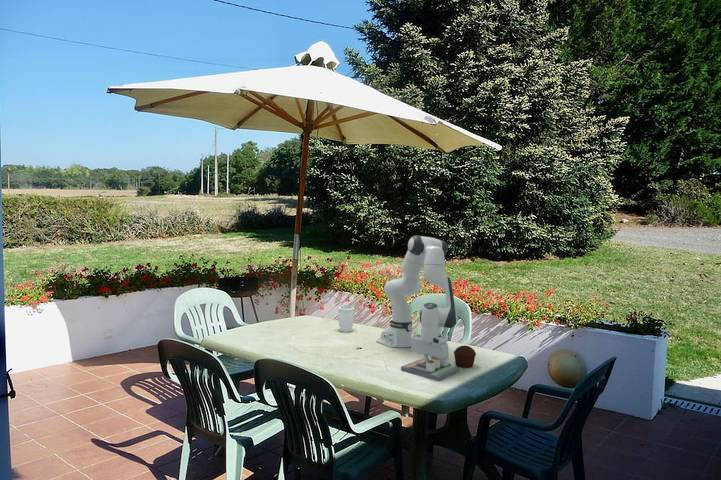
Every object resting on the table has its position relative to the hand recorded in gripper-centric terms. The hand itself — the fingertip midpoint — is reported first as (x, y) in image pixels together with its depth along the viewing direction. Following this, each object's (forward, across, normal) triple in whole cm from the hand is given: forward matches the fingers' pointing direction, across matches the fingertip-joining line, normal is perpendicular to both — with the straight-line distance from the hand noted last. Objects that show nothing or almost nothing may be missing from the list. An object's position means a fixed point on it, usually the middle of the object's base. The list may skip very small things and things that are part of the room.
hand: (429, 363), depth 260 cm
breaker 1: (+1, +5, -6) cm, 8 cm away
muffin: (+4, +8, +20) cm, 22 cm away
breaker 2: (+1, +5, +6) cm, 8 cm away
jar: (+3, -84, +27) cm, 88 cm away
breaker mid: (+1, +4, 0) cm, 4 cm away
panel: (+3, +1, 0) cm, 3 cm away
